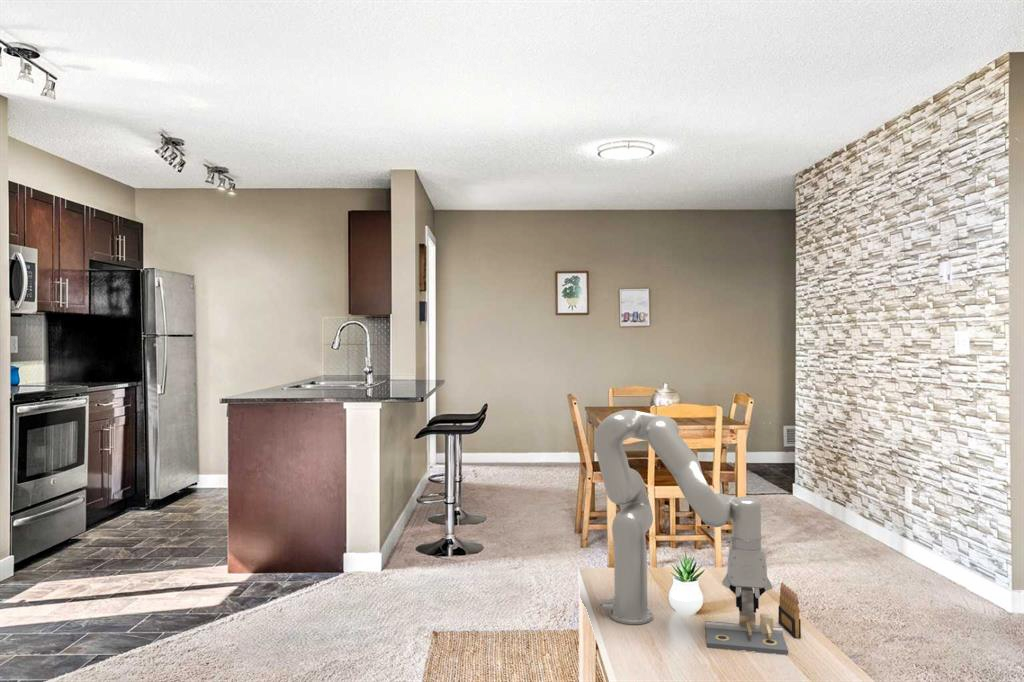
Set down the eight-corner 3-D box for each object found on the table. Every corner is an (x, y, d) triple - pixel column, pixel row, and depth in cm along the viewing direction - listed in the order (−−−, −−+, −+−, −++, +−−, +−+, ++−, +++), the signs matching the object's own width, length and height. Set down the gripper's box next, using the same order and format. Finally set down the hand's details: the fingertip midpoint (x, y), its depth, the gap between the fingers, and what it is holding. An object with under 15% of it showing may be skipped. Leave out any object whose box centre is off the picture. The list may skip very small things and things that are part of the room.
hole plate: (707, 647, 181) (706, 626, 181) (705, 625, 196) (705, 605, 196) (788, 655, 176) (788, 633, 176) (780, 631, 191) (780, 611, 191)
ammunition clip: (801, 638, 186) (800, 594, 186) (794, 638, 186) (793, 594, 186) (784, 622, 197) (784, 580, 197) (778, 623, 197) (777, 580, 197)
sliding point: (742, 637, 182) (741, 597, 182) (739, 624, 191) (739, 586, 191) (758, 639, 181) (757, 599, 181) (754, 625, 190) (754, 587, 190)
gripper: (716, 545, 188) (716, 613, 188) (780, 549, 184) (780, 618, 184) (715, 537, 195) (715, 603, 195) (776, 541, 191) (777, 608, 191)
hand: (747, 609), depth 189 cm, fingers closed on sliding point, 3 cm apart
